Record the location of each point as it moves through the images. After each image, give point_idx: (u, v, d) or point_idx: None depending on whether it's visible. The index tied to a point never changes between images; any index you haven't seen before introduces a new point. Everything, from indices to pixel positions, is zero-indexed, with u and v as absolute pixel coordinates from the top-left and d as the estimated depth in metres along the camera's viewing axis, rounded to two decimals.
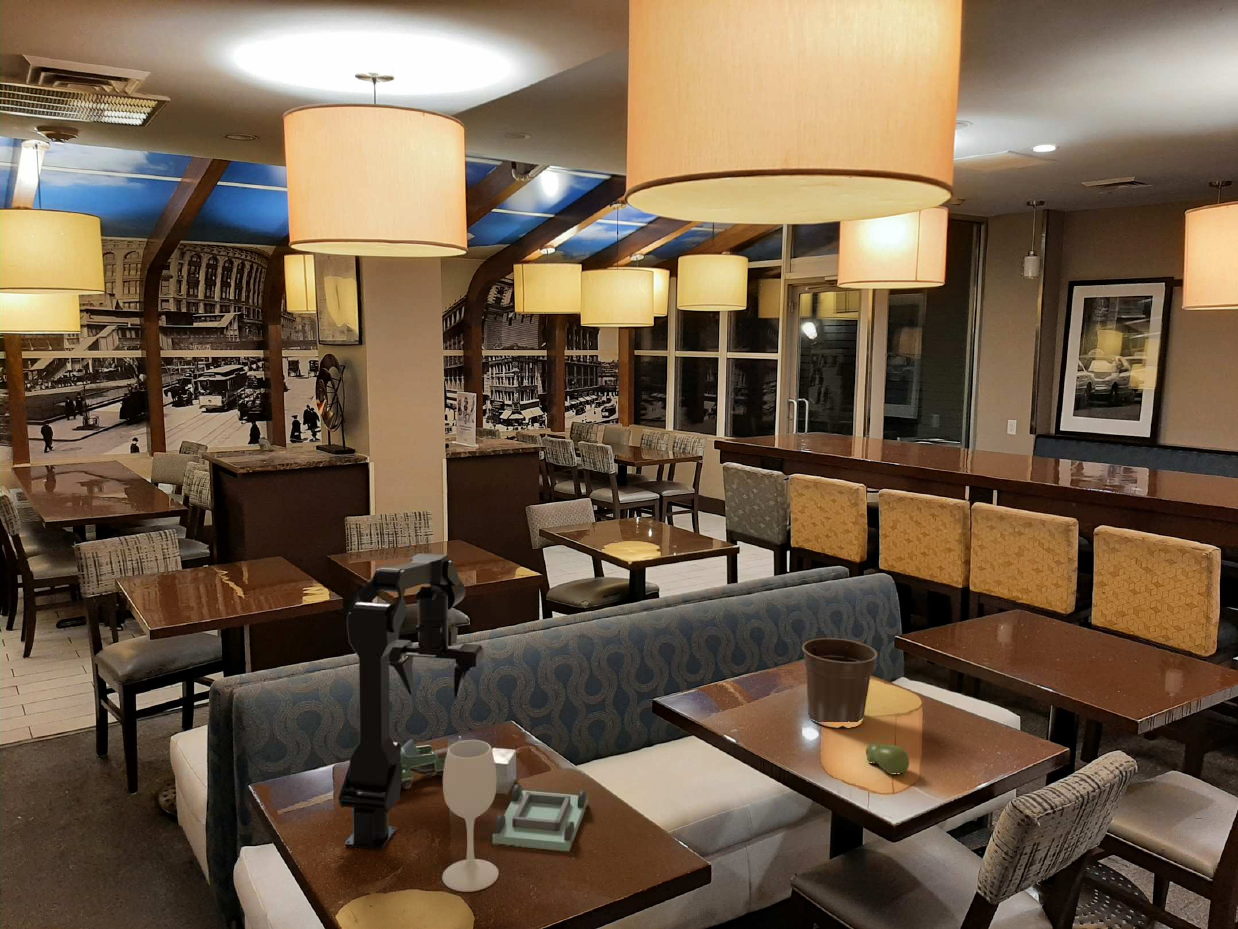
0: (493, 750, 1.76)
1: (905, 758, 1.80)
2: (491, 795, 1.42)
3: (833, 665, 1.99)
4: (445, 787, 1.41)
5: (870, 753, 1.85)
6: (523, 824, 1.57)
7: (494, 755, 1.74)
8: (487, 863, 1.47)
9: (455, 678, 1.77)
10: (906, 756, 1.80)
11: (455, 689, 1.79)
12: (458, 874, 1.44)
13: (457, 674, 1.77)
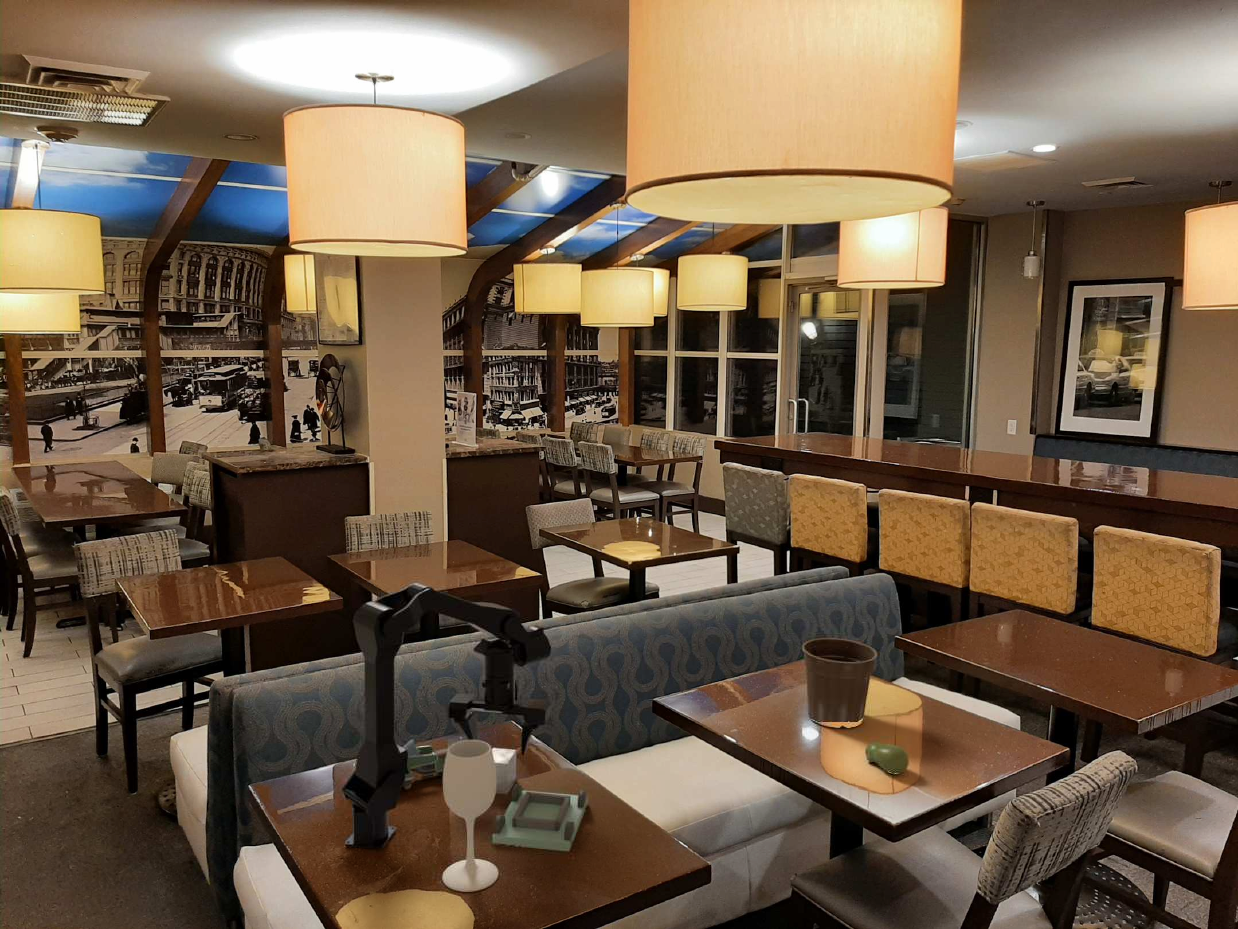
0: (493, 750, 1.76)
1: (905, 758, 1.80)
2: (491, 795, 1.42)
3: (833, 665, 1.99)
4: (445, 787, 1.41)
5: (869, 753, 1.85)
6: (523, 824, 1.57)
7: (494, 755, 1.74)
8: (487, 863, 1.47)
9: (523, 736, 1.70)
10: (905, 755, 1.81)
11: (522, 747, 1.72)
12: (458, 874, 1.44)
13: (525, 732, 1.70)
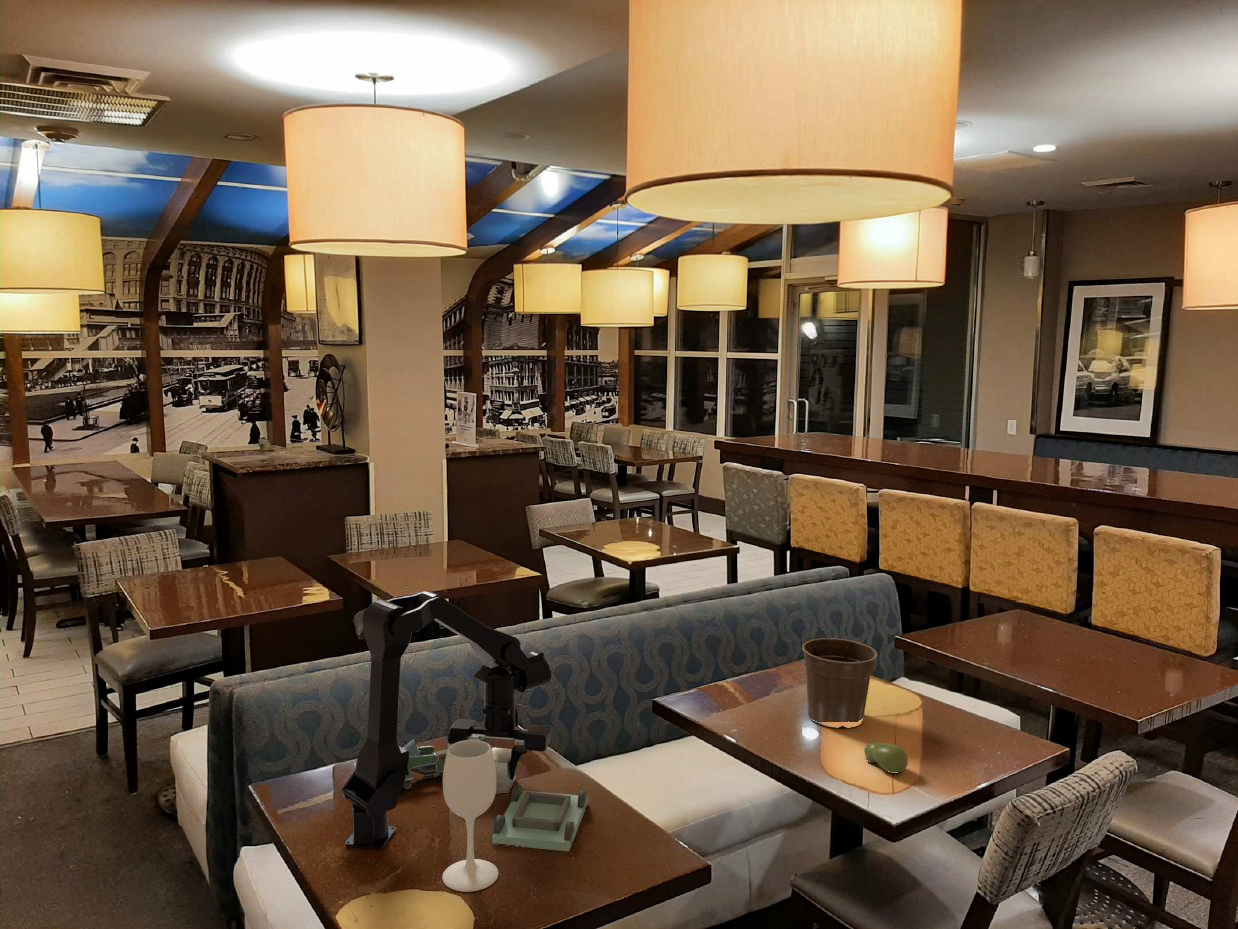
0: (493, 750, 1.76)
1: (904, 757, 1.80)
2: (491, 795, 1.42)
3: (833, 665, 1.99)
4: (445, 787, 1.41)
5: (869, 752, 1.86)
6: (523, 824, 1.57)
7: (494, 755, 1.74)
8: (487, 863, 1.47)
9: (512, 761, 1.71)
10: (905, 755, 1.81)
11: (511, 771, 1.73)
12: (458, 874, 1.44)
13: (514, 757, 1.71)
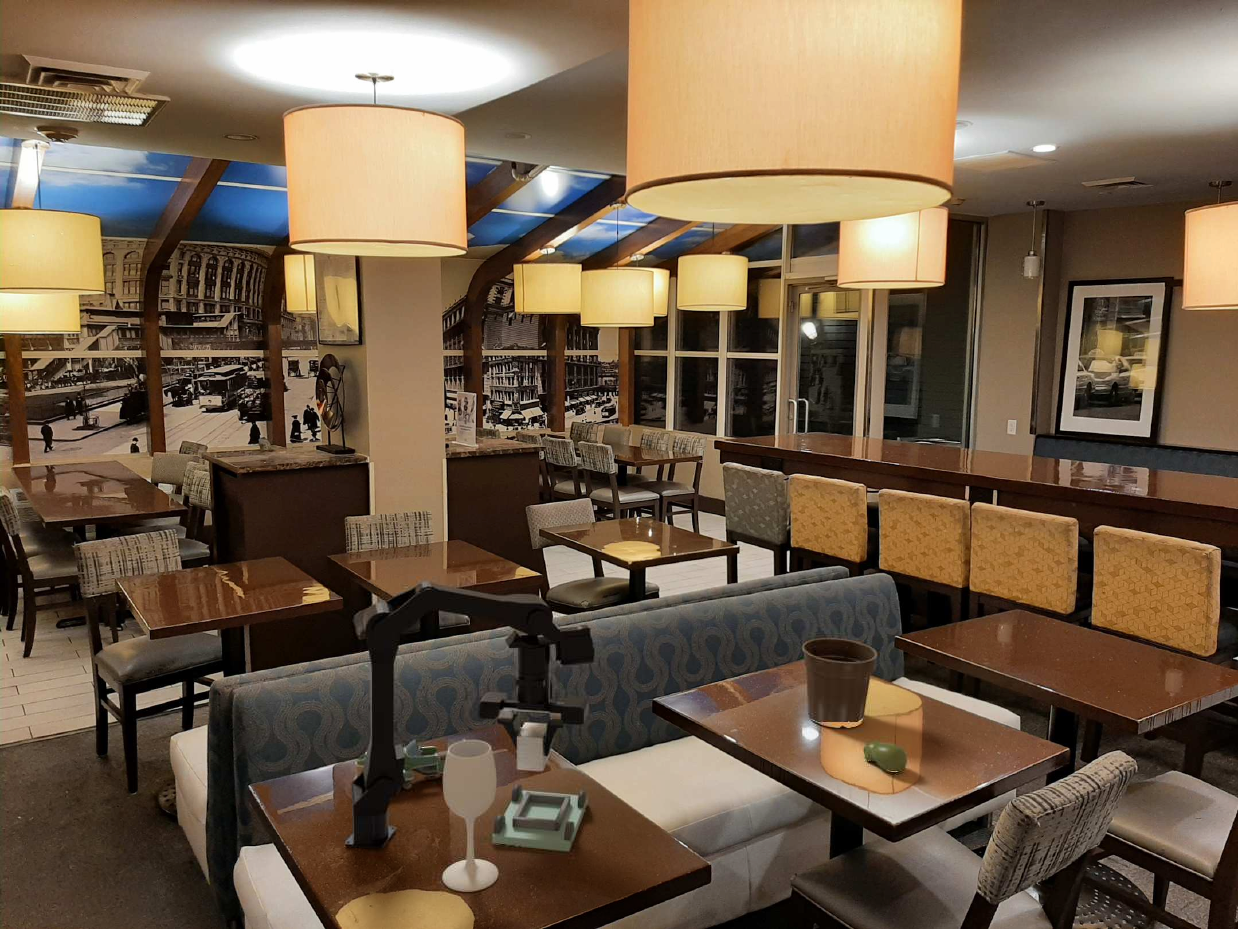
0: (525, 724, 1.64)
1: (903, 756, 1.81)
2: (491, 795, 1.42)
3: (833, 665, 1.99)
4: (445, 787, 1.41)
5: (868, 751, 1.86)
6: (523, 824, 1.57)
7: (527, 729, 1.62)
8: (487, 863, 1.47)
9: (547, 735, 1.60)
10: (904, 754, 1.81)
11: (546, 747, 1.61)
12: (458, 874, 1.44)
13: (550, 731, 1.59)
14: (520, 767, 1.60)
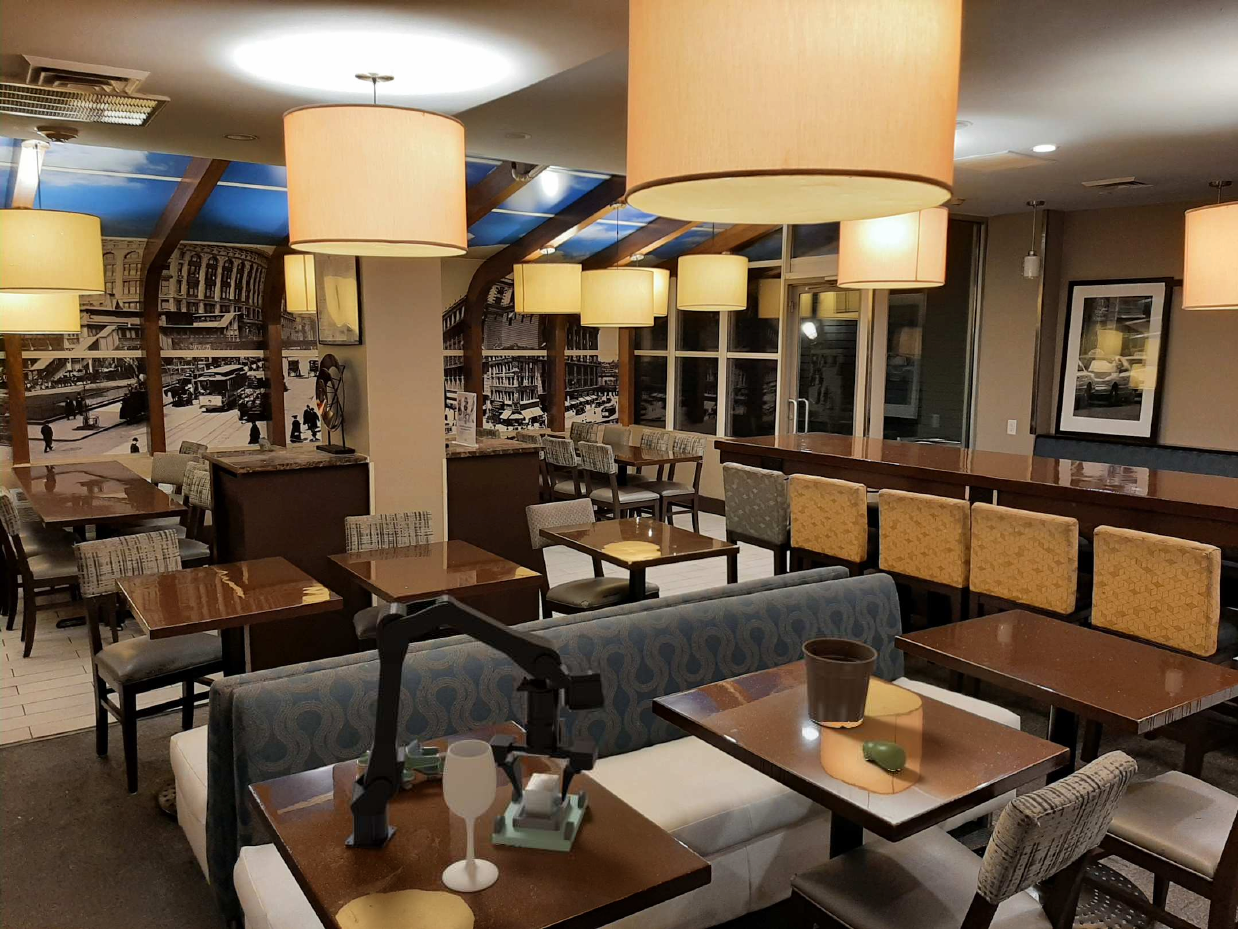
0: (534, 776, 1.63)
1: (903, 755, 1.81)
2: (491, 795, 1.42)
3: (833, 665, 1.99)
4: (445, 787, 1.41)
5: (867, 750, 1.86)
6: (523, 824, 1.57)
7: (535, 781, 1.61)
8: (487, 863, 1.47)
9: (564, 781, 1.57)
10: (903, 752, 1.82)
11: (563, 793, 1.59)
12: (458, 874, 1.44)
13: (566, 777, 1.57)
14: None
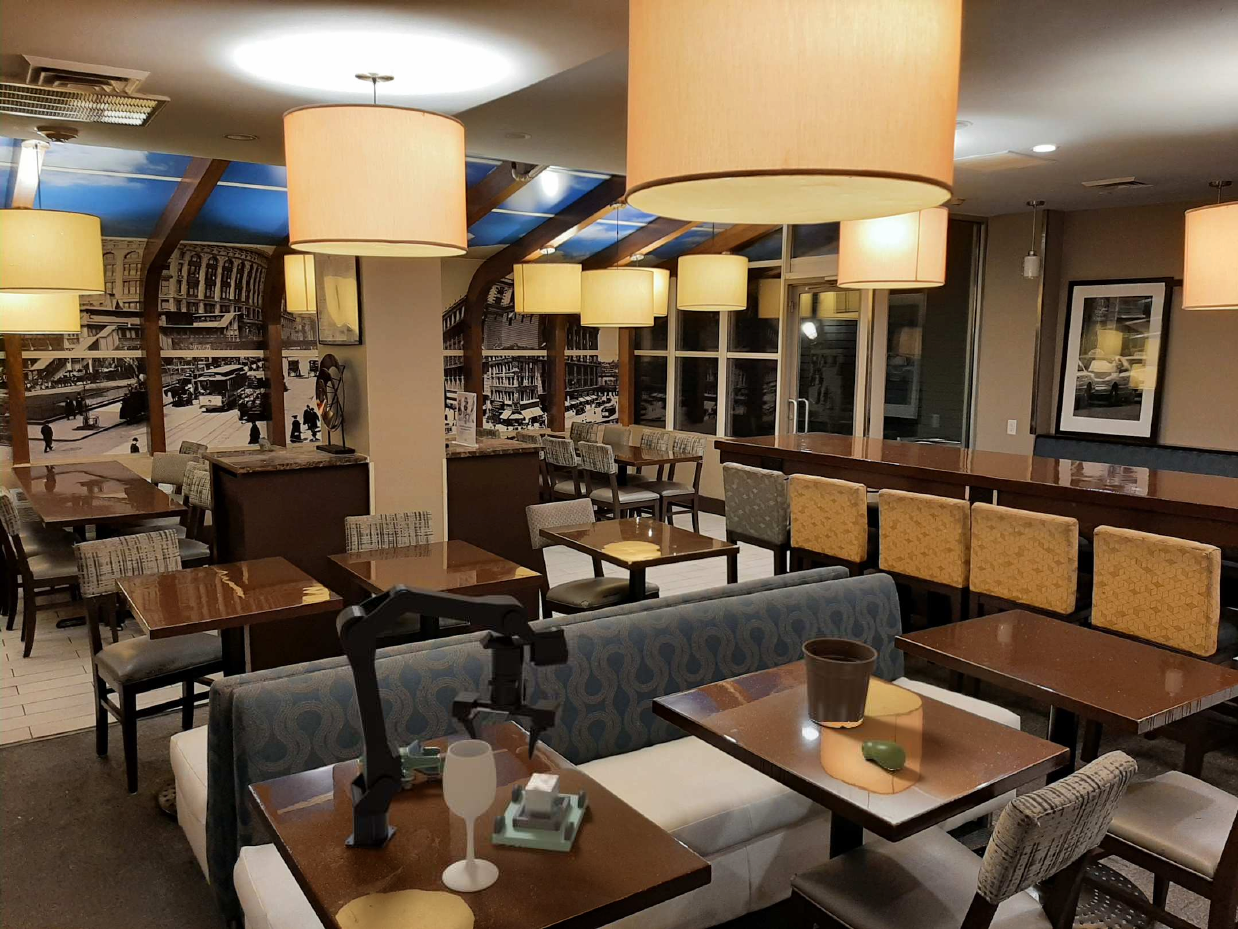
0: (534, 776, 1.63)
1: (903, 754, 1.82)
2: (491, 795, 1.42)
3: (833, 665, 1.99)
4: (445, 787, 1.41)
5: (866, 750, 1.87)
6: (523, 824, 1.57)
7: (535, 781, 1.61)
8: (487, 863, 1.47)
9: (530, 738, 1.59)
10: (903, 751, 1.82)
11: (530, 750, 1.60)
12: (458, 874, 1.44)
13: (533, 734, 1.58)
14: None
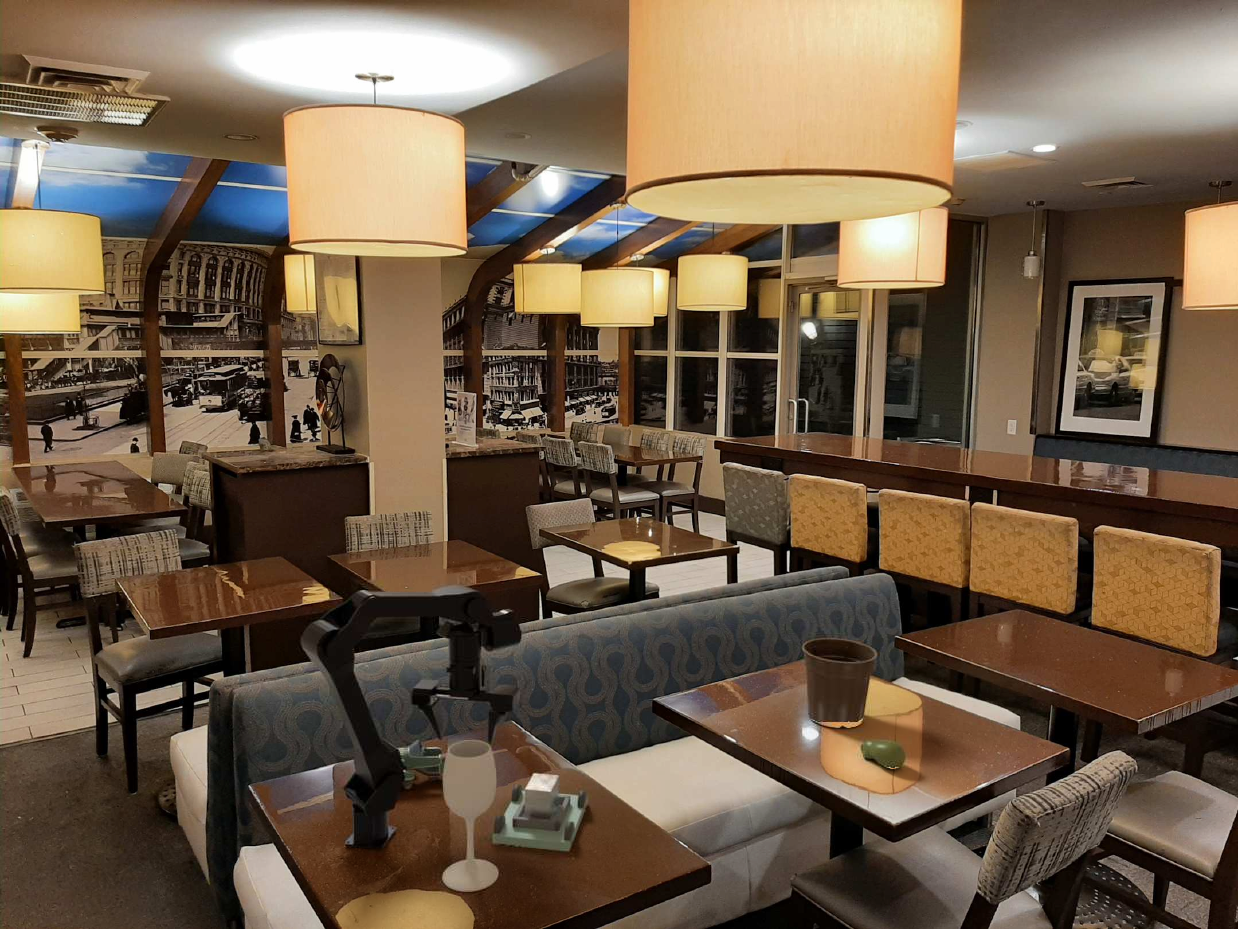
0: (534, 776, 1.63)
1: (902, 753, 1.82)
2: (491, 795, 1.42)
3: (833, 665, 1.99)
4: (445, 787, 1.41)
5: (866, 749, 1.87)
6: (523, 824, 1.57)
7: (535, 781, 1.61)
8: (487, 863, 1.47)
9: (489, 723, 1.62)
10: (903, 750, 1.83)
11: (489, 735, 1.64)
12: (458, 874, 1.44)
13: (492, 719, 1.62)
14: None
